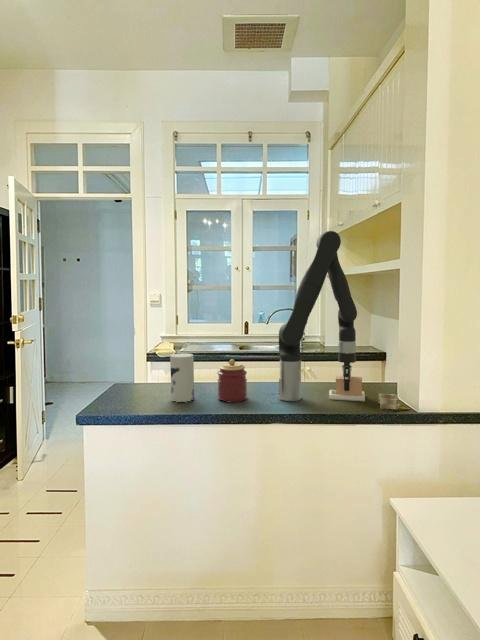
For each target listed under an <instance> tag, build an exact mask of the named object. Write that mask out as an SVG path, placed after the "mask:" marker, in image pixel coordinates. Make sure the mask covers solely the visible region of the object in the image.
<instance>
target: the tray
mask: <svg viewBox="0 0 480 640" xmlns="http://www.w3.org/2000/svg"><path fill="white" fill-rule="evenodd" d="M328 391H329V392H328V400H334V401H335V400H336V401H351V402H352V401H353V402H354V401H355V402H365V401H366V396H365V391H363V390H362V395H336V389H329V390H328Z"/></svg>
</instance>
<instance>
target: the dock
mask: <svg viewBox="0 0 480 640" xmlns="http://www.w3.org/2000/svg"><path fill="white" fill-rule="evenodd" d="M399 403H400V399H399V397H398V395H397V394H391V393H390V394H389V393H378V404H379V409H380V410H381V409H384V410H398V409H399V410H400V407H399V405H400V404H399Z"/></svg>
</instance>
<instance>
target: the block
mask: <svg viewBox="0 0 480 640" xmlns="http://www.w3.org/2000/svg"><path fill="white" fill-rule="evenodd" d="M345 379H349V377H345ZM335 390H336V395H362V391H363V377H362V376H351V377H350V383H349V391H344V377H343V375H342V376H341V375H340V376H337V375H336V377H335Z"/></svg>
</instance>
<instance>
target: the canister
mask: <svg viewBox="0 0 480 640" xmlns="http://www.w3.org/2000/svg"><path fill="white" fill-rule="evenodd" d="M245 368H246V367H245V366H244V365H243V364H242V363H239V362H236V361H235V359H233V358H232V359H230V360H229V362H226V363H222V364H221V365H220V366H219V371H217V375H218V379H217V397H218V398H219V399H220V400H223V401H231V402H230V403H239V402H238V401H241V402H243V400H244V401H246V400H247V399H246V398H248V391H247V389H248V385H247V381H248V379H247V374H248V372H247V371H246V370H245ZM218 398H217V399H218ZM219 399H218V400H219ZM245 399H246V400H245ZM220 400H219V401H220ZM223 401H222V402H223Z"/></svg>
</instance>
